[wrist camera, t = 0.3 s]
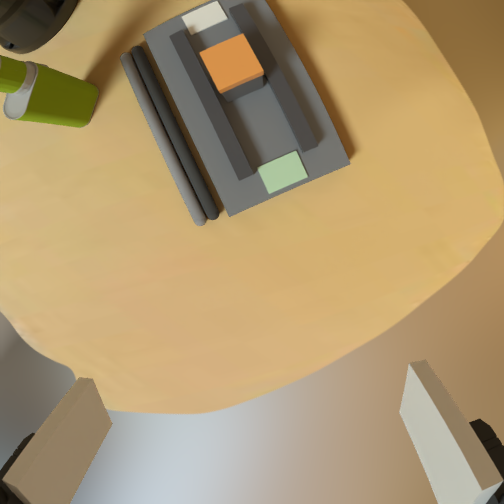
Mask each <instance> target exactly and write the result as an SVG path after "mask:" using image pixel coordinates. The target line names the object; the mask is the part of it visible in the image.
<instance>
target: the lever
mask: <svg viewBox="0 0 504 504" xmlns="http://www.w3.org/2000/svg"><path fill="white" fill-rule="evenodd" d="M200 55H201V57H202V59H203V61H204V63H205V65H206V67H207V69H208V71H209V73H210V75H211V77H212V79H213V81H214V83H215V85H216V87H217V89H218V91H219V92H220V94H221V93H222V95H223V96H224V98H225V99H226V101H227V102H228V103H229V102H231V101H233V100H236V99H238V98H240V97H242V96H244V95H247V94H249V93H251V92H254V91H256V90H258V89H261V88H263V76H262V75H264V71H263V69H262V67H261V65H260V63H259V61H258V59H257V58H256V56H255V54H254V52H253V50H252V48H251V47H250V45H249V43H248V41H247V39H246V38H245V36H244V34H240V35H238V36H235V37H233V38H231V39H228V40H226V41H224V42H221V43H219V44H217V45H215V46H212V47H210V48H208V49H206V50H204V51H202V52H200Z"/></svg>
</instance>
